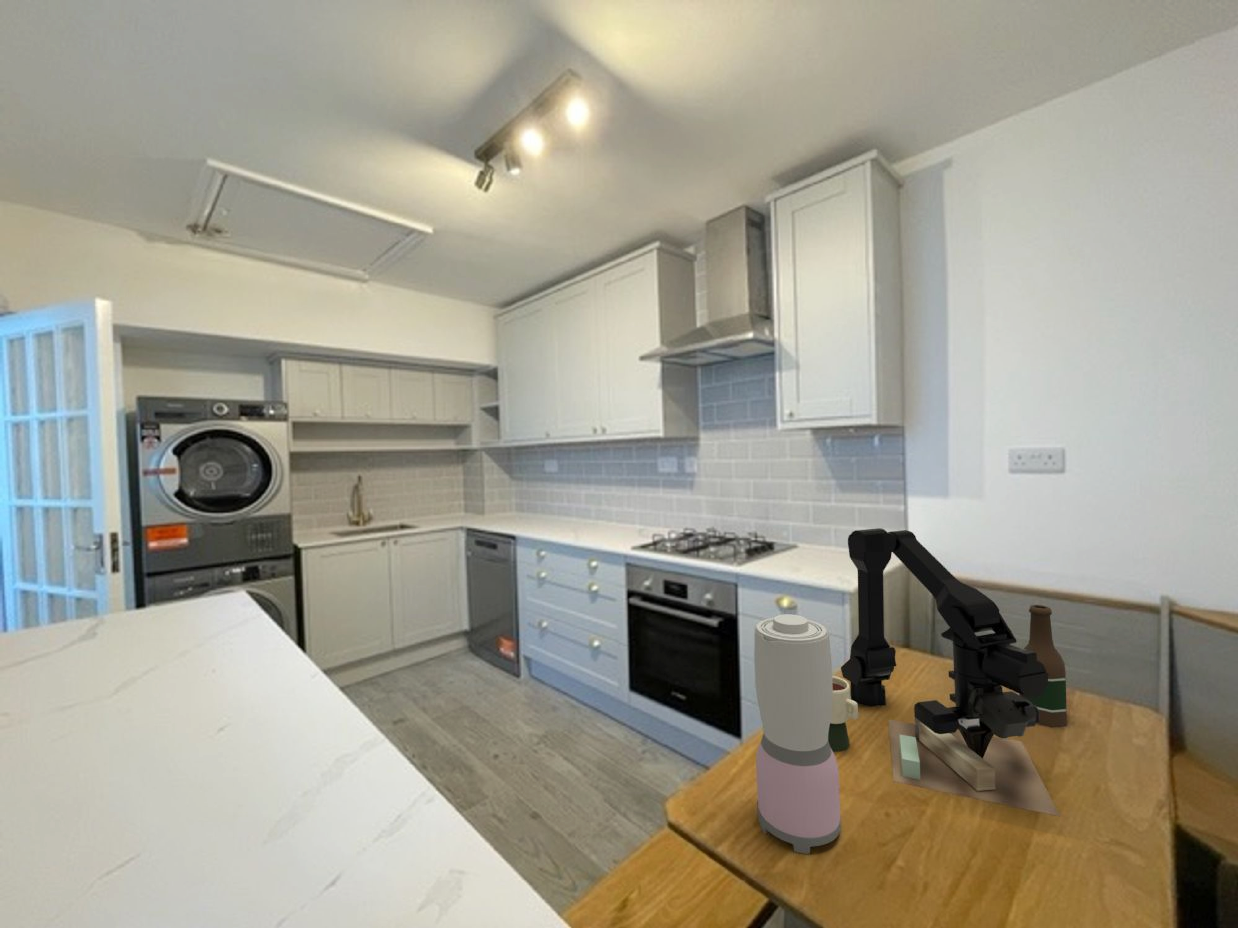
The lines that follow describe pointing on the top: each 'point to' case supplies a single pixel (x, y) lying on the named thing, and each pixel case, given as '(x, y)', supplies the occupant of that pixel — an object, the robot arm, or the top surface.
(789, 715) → the blender
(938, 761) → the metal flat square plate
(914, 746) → the block
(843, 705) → the character mug
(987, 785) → the fold-out leg
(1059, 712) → the beer bottle
